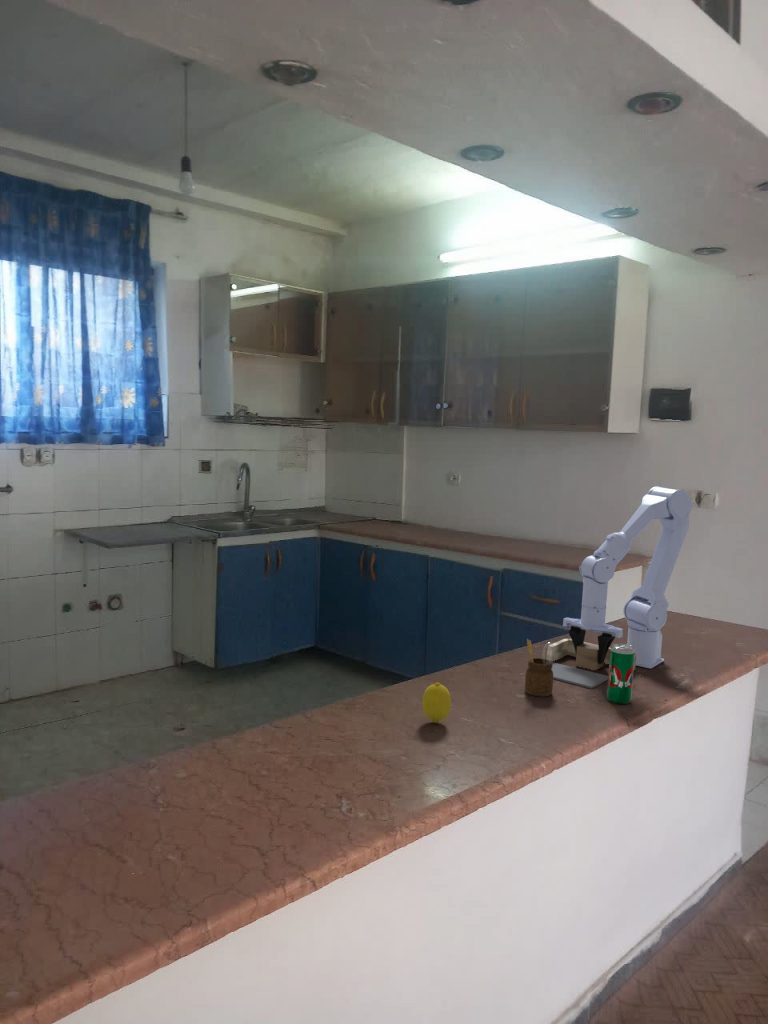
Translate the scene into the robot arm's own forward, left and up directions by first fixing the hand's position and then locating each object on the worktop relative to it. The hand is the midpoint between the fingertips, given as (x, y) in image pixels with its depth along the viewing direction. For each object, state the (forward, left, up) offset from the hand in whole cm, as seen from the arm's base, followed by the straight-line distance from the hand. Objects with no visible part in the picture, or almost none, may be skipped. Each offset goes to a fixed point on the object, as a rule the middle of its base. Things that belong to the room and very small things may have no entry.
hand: (589, 660), depth 190 cm
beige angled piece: (0, 0, -1) cm, 1 cm away
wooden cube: (0, 0, -2) cm, 2 cm away
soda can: (+18, +15, -2) cm, 24 cm away
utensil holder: (+26, 0, -2) cm, 27 cm away
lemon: (+56, -6, -2) cm, 57 cm away
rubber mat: (+10, 0, -1) cm, 11 cm away
